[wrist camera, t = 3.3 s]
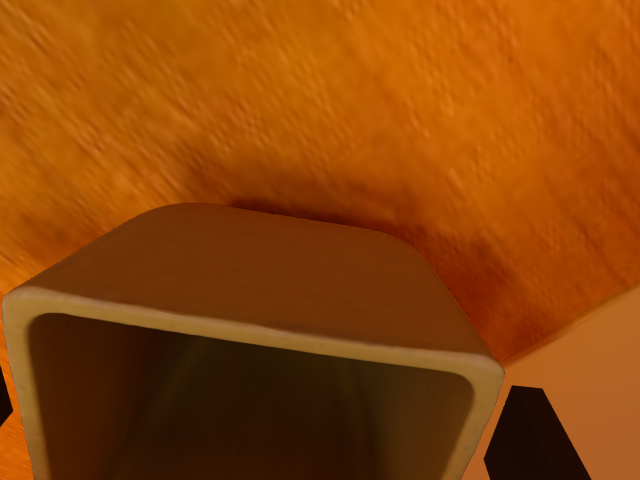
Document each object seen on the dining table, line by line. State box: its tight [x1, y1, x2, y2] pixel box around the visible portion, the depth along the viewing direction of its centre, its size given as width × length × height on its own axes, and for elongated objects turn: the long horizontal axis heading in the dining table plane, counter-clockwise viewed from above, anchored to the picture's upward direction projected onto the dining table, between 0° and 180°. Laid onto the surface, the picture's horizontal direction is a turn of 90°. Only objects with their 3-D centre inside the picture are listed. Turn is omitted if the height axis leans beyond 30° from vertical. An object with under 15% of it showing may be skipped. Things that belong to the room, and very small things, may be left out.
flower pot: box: [2, 203, 505, 480], centre depth 13 cm, size 9×9×9 cm
